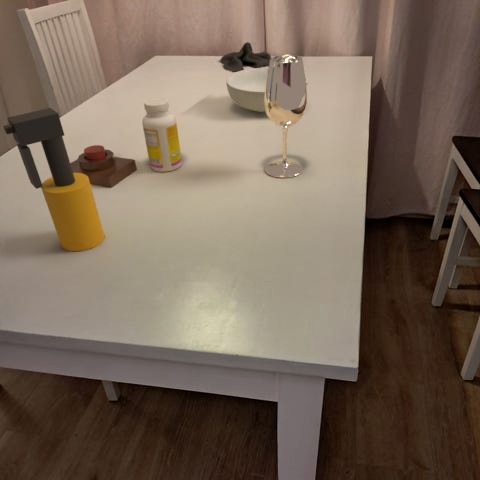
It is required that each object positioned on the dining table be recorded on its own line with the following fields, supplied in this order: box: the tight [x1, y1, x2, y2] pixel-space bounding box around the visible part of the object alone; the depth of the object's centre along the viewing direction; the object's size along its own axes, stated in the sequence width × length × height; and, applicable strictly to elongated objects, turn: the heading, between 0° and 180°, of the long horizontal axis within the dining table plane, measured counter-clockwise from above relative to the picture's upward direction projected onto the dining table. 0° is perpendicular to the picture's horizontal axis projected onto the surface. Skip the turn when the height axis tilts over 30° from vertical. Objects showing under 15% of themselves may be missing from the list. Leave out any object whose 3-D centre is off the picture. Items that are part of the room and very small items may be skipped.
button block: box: [70, 148, 138, 189], centre depth 94 cm, size 12×9×4 cm
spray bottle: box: [2, 107, 105, 252], centre depth 69 cm, size 9×7×20 cm
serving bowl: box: [225, 68, 309, 113], centre depth 121 cm, size 21×21×7 cm
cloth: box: [219, 41, 272, 73], centre depth 158 cm, size 22×19×6 cm
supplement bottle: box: [141, 97, 183, 173], centre depth 93 cm, size 7×7×13 cm
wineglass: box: [264, 54, 308, 179], centre depth 87 cm, size 8×8×20 cm
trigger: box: [16, 143, 43, 190], centre depth 66 cm, size 1×3×6 cm, turn 36°
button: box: [83, 144, 106, 160], centre depth 93 cm, size 4×4×2 cm
